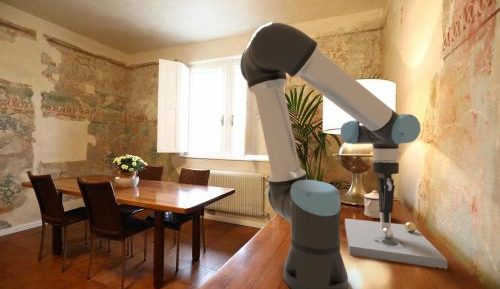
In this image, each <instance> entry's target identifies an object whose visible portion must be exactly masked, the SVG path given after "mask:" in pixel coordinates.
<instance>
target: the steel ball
mask: <svg viewBox="0 0 500 289" xmlns="http://www.w3.org/2000/svg"><path fill="white" fill-rule="evenodd" d="M382 235H383V236H384V237H385V238H387V239H390V238H392V237H393V235H394V233H393V231H392V230H391V229H390V228H383V229H382Z"/></svg>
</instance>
